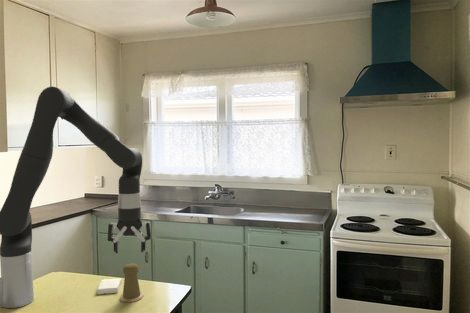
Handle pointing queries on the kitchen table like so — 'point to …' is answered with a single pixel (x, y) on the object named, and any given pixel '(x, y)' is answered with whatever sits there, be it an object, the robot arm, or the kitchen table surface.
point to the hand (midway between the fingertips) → (129, 252)
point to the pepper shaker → (131, 281)
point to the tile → (109, 286)
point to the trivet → (132, 299)
